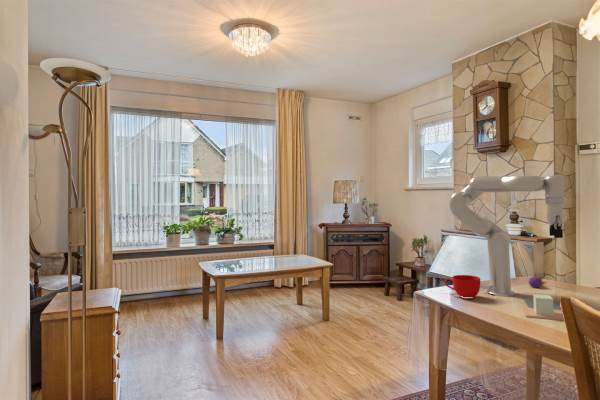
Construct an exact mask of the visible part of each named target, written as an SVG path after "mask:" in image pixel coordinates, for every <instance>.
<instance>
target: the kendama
mask: <svg viewBox="0 0 600 400" xmlns="http://www.w3.org/2000/svg"><path fill="white" fill-rule="evenodd" d="M542 281H543V278H542V276H540V275H537V276H532V277H530V278H529V279H528V284H529V286H530V287H531V288H533V289H534V288H535V289H539V288H540V287H541V286H542V285H543V282H542Z"/></svg>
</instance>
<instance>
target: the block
mask: <svg viewBox="0 0 600 400" xmlns="http://www.w3.org/2000/svg"><path fill="white" fill-rule="evenodd" d="M532 296H533V297H532V300H534V308H533V309H534V311H535V313H536V315H546V316H554V311H555V310H553V301H554V298H553V297H552V296H551V295H548V294H547V295H546V294H536V293H535V294H533V295H532Z"/></svg>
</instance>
